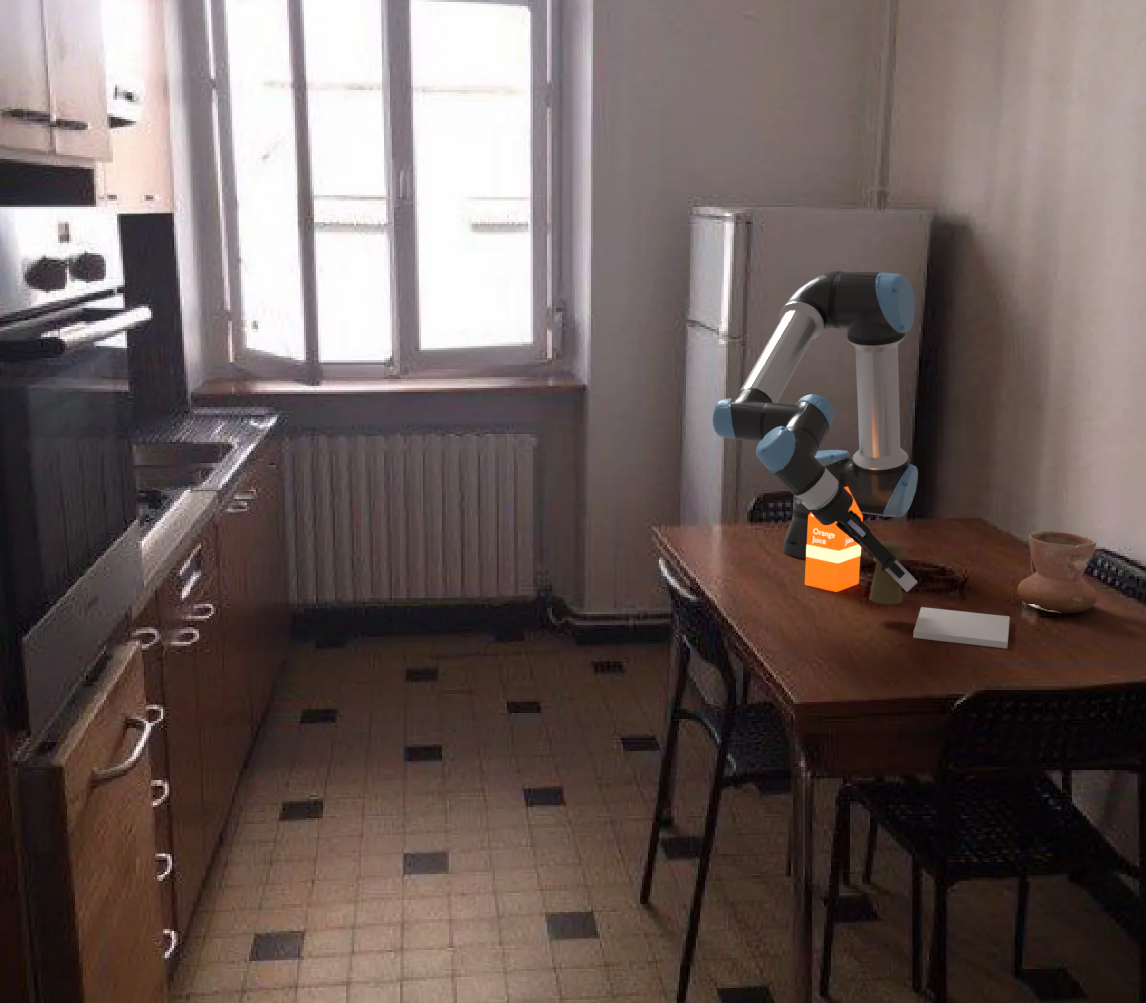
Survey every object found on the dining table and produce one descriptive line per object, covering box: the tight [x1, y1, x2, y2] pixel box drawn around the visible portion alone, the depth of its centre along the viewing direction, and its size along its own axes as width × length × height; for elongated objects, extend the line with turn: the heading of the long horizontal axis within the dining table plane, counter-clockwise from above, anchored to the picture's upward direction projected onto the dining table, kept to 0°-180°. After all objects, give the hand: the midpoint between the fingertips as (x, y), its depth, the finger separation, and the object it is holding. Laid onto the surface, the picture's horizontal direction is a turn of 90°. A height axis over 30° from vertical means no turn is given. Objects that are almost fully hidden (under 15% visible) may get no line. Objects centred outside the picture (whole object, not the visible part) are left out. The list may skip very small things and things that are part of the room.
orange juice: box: [804, 487, 864, 593], centre depth 257 cm, size 8×9×20 cm
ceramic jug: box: [1017, 530, 1098, 615], centre depth 243 cm, size 18×14×14 cm
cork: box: [868, 540, 904, 605], centre depth 233 cm, size 6×6×11 cm
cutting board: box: [912, 606, 1011, 649], centre depth 230 cm, size 16×16×1 cm
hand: (906, 581), depth 234 cm, fingers closed on cork, 5 cm apart
